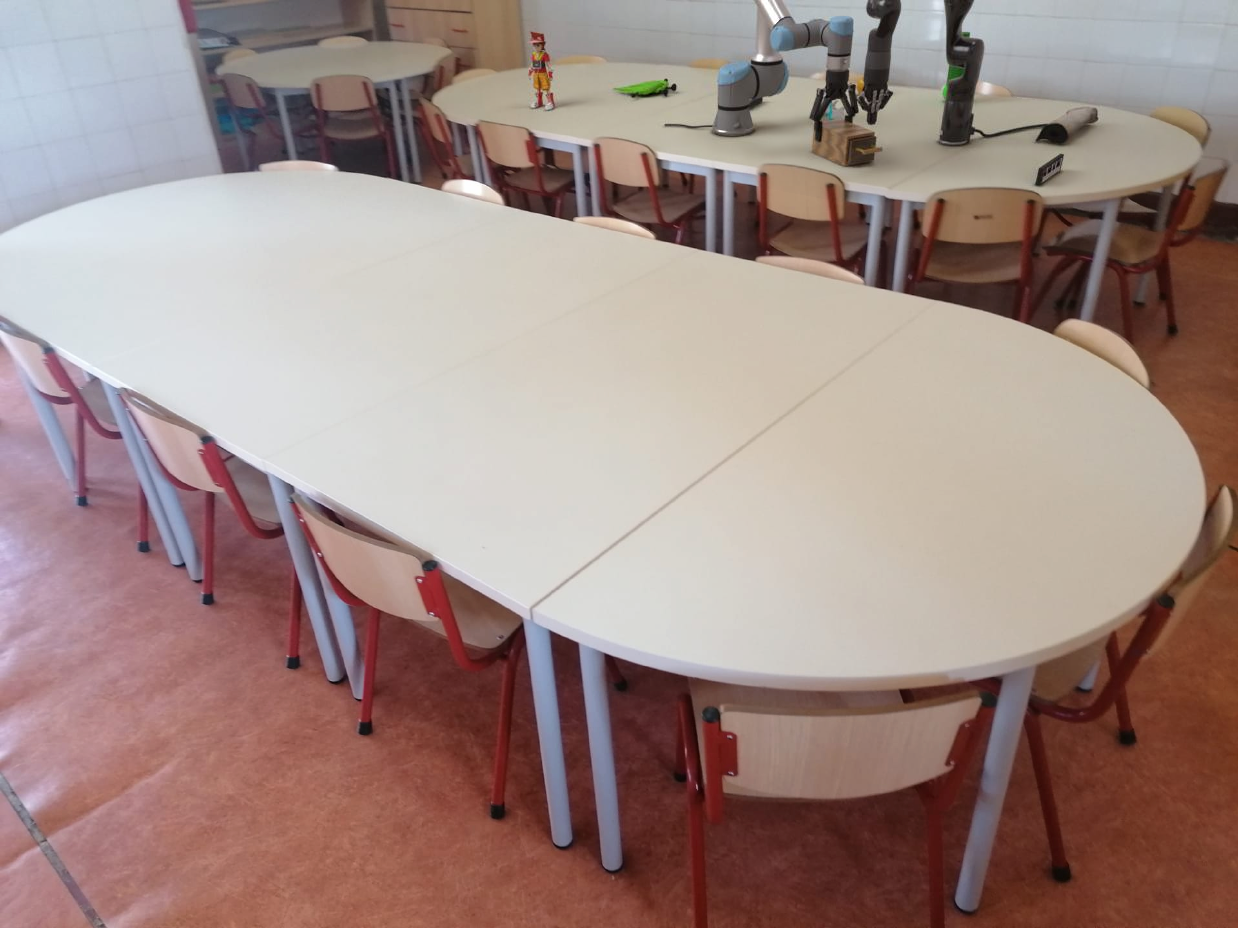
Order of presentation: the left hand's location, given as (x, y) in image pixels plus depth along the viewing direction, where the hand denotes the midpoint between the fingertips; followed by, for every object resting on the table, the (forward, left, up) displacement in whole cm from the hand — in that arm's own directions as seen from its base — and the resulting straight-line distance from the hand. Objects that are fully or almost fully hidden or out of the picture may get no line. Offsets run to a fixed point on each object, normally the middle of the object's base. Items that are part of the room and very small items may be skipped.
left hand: (832, 138), depth 306 cm
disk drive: (-55, +50, -5) cm, 75 cm away
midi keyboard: (+70, -4, -5) cm, 71 cm away
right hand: (+17, -13, +9) cm, 23 cm away
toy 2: (-108, +58, -5) cm, 123 cm away
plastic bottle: (+22, +81, -5) cm, 84 cm away
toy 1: (-135, +21, -5) cm, 137 cm away
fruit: (-14, +82, -5) cm, 83 cm away
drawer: (+9, -7, -4) cm, 12 cm away
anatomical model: (-15, +42, -5) cm, 45 cm away
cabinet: (+5, -4, -5) cm, 8 cm away
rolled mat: (+68, +48, -5) cm, 83 cm away
